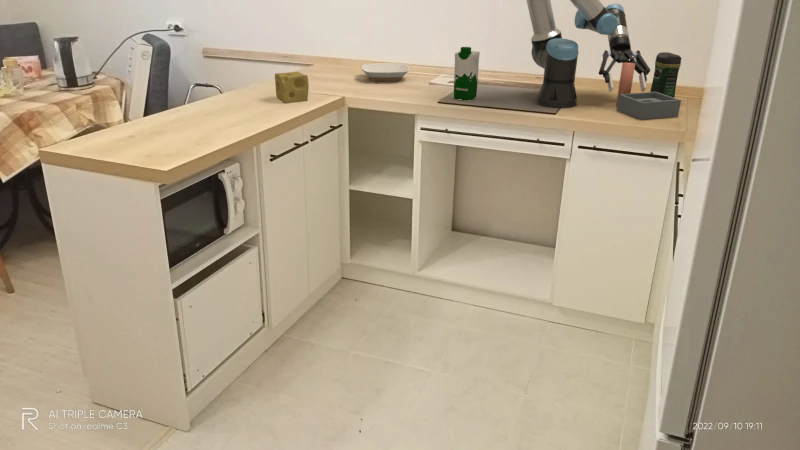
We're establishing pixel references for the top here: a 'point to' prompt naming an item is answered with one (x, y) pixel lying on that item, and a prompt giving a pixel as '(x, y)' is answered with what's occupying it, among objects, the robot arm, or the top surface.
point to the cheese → (291, 87)
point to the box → (648, 105)
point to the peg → (626, 79)
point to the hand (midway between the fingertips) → (627, 89)
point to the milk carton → (466, 74)
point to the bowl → (385, 71)
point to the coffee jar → (666, 73)
